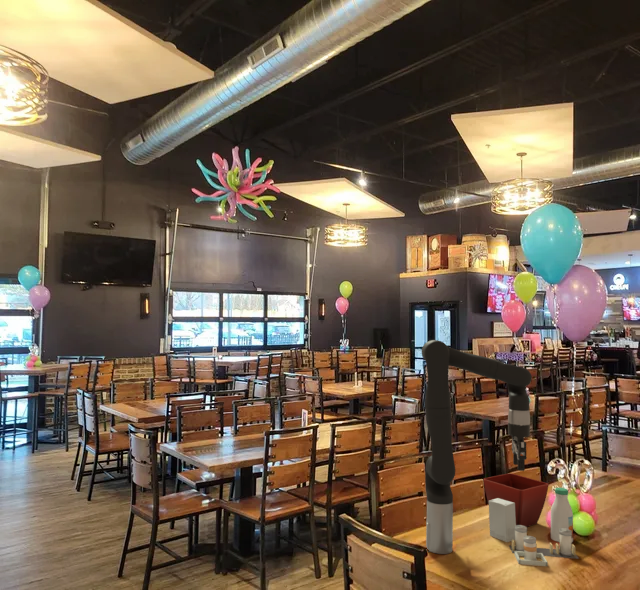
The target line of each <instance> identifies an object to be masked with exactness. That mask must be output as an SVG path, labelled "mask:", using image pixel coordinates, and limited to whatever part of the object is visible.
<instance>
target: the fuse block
mask: <svg viewBox="0 0 640 590" xmlns="http://www.w3.org/2000/svg"><path fill="white" fill-rule="evenodd" d="M552 543H553V542H549V548H544V547H538V545H537V543H536V548H537V551H536V553H542V554H543V555H544V557H553V558H564V559H577V560H579V559H580V558H579V556H578V555H577V554H576V545H574V544H573V543H571V551H572V555H571V556H564V555H561V554H560V553H559V549H560V544H558V543H559V542H556V543H555V548H554V545H553V544H552ZM508 546H509V548H510V551H511V554H514V551H516V550H515V540H512V541H511V545H508Z"/></svg>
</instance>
